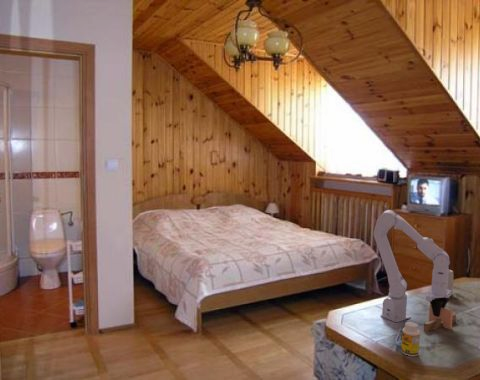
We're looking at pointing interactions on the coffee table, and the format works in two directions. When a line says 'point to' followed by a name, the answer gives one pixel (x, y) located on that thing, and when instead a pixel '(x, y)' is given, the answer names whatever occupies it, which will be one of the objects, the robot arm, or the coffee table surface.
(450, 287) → the beverage can
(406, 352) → the supplement bottle
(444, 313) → the tan flat plank
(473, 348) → the coffee table surface
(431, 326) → the walnut board
